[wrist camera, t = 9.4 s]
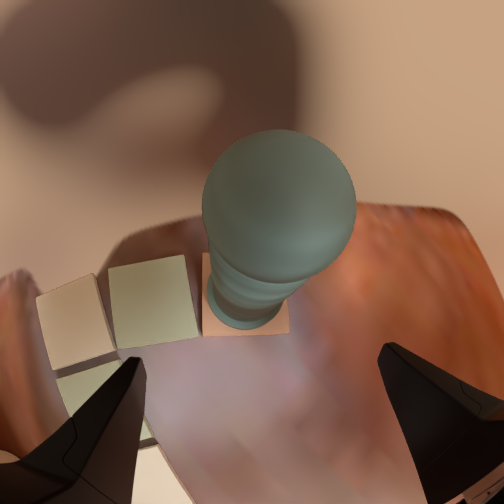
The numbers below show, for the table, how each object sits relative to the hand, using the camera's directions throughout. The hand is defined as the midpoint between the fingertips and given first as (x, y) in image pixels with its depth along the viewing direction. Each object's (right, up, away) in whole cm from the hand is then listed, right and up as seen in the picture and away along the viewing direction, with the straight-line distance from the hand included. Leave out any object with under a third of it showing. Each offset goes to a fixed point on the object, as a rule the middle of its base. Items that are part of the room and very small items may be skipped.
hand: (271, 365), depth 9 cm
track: (-9, -3, +7) cm, 12 cm away
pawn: (-1, +1, +9) cm, 9 cm away
